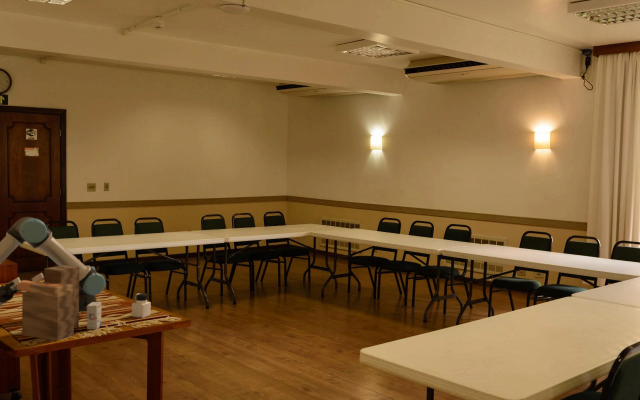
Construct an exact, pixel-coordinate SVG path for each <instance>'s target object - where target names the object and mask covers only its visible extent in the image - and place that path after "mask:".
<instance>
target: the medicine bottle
mask: <svg viewBox="0 0 640 400" xmlns="http://www.w3.org/2000/svg"><path fill="white" fill-rule="evenodd" d="M151 309H152V303H151V301H148V294H147V293H145V292H139V293H136V294H135V302H132V303H131V317H134V318H140V317H141V319H144V318H146V317H148V316H149V317H150V316H151V315H152V313H151V311H152V310H151Z"/></svg>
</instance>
